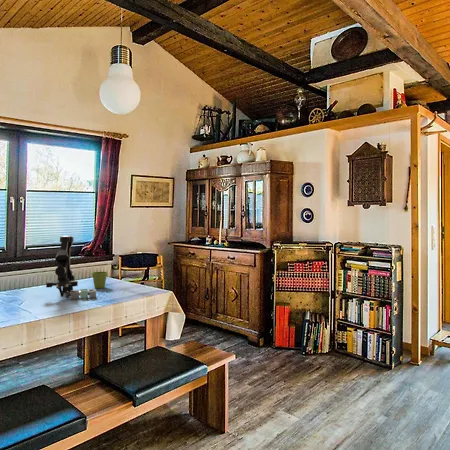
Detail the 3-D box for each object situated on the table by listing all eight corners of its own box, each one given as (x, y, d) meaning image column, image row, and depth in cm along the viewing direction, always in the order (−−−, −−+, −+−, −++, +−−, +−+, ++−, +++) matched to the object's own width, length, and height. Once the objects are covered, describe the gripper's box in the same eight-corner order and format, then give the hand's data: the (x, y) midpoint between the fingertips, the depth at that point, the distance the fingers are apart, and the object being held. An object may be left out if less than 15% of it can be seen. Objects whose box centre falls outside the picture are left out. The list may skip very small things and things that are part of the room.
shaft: (65, 298, 250) (65, 291, 250) (65, 297, 254) (65, 290, 254) (92, 296, 256) (92, 290, 256) (92, 295, 260) (92, 288, 260)
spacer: (80, 299, 253) (80, 290, 252) (80, 297, 258) (80, 289, 258) (87, 298, 254) (87, 290, 254) (87, 296, 260) (87, 288, 260)
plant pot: (110, 286, 294) (110, 271, 294) (102, 289, 282) (102, 274, 282) (96, 285, 296) (96, 270, 296) (88, 288, 285) (88, 273, 284)
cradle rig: (70, 300, 250) (70, 292, 249) (70, 297, 257) (70, 290, 257) (95, 298, 255) (95, 291, 255) (95, 295, 263) (95, 288, 262)
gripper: (45, 275, 240) (45, 300, 241) (77, 274, 247) (77, 299, 247) (46, 272, 250) (46, 296, 251) (77, 272, 257) (77, 295, 258)
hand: (62, 297), depth 251 cm, fingers closed
